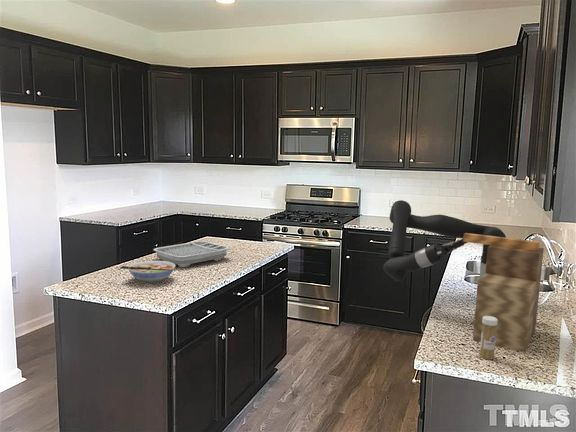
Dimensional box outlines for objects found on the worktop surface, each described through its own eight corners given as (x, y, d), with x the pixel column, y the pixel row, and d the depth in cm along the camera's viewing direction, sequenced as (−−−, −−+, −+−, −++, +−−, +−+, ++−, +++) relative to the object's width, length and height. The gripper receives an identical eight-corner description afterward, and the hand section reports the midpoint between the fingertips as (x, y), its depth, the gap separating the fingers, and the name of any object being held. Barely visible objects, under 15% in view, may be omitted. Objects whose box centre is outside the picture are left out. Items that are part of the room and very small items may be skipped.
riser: (472, 339, 169) (480, 252, 165) (487, 320, 189) (494, 242, 184) (525, 352, 160) (534, 259, 155) (535, 330, 179) (543, 248, 175)
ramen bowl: (184, 275, 243) (184, 260, 242) (168, 288, 221) (168, 271, 219) (137, 273, 246) (136, 258, 244) (117, 286, 223) (116, 269, 222)
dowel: (463, 241, 184) (463, 233, 183) (465, 240, 186) (465, 232, 186) (537, 251, 169) (538, 242, 169) (539, 249, 172) (539, 241, 171)
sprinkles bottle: (488, 361, 152) (492, 321, 150) (476, 355, 156) (479, 316, 154) (497, 358, 155) (500, 318, 153) (484, 352, 159) (488, 314, 157)
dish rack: (149, 260, 274) (149, 247, 273) (202, 251, 300) (202, 239, 299) (179, 271, 252) (179, 256, 251) (233, 261, 278) (233, 247, 277)
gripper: (419, 250, 188) (456, 234, 179) (430, 244, 200) (466, 229, 191) (427, 267, 187) (465, 252, 178) (438, 261, 199) (475, 246, 190)
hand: (466, 240), depth 185 cm, fingers open, 8 cm apart
